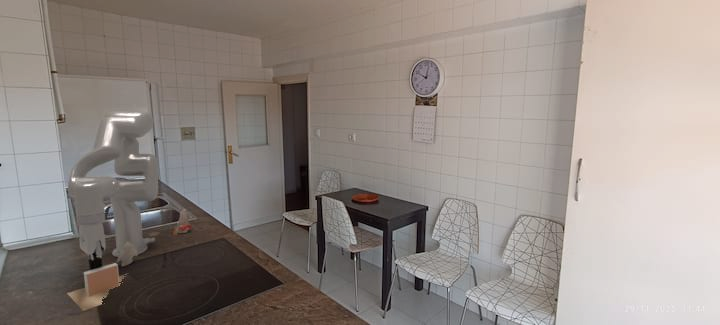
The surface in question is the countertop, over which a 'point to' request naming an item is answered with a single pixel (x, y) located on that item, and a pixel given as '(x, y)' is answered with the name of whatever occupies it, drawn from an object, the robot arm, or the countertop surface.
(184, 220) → the figurine
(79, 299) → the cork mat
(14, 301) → the countertop surface
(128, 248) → the arrowhead
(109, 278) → the tile
